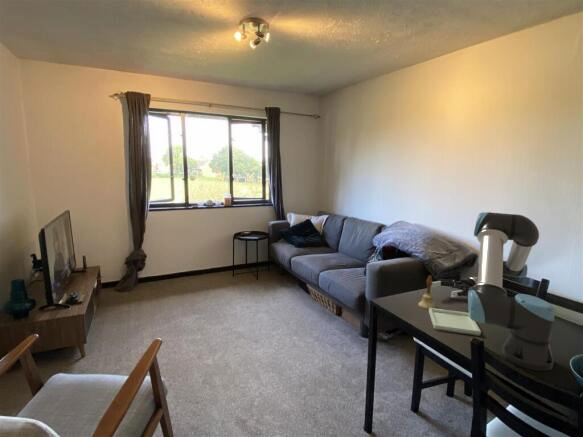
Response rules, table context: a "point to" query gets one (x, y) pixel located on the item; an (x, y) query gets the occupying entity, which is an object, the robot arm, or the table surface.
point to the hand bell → (427, 297)
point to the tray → (453, 321)
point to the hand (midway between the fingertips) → (441, 289)
